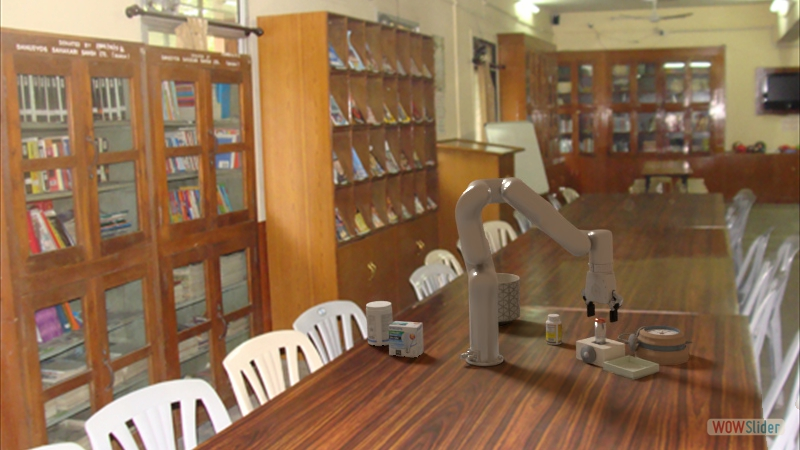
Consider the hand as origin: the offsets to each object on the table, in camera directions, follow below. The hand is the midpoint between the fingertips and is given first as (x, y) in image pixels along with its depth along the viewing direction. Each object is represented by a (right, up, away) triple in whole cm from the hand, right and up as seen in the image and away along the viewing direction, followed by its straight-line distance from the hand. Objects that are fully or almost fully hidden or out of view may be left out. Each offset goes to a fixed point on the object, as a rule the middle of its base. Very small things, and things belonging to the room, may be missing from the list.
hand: (602, 318), depth 256 cm
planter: (-28, -8, +52) cm, 60 cm away
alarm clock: (+18, -13, +5) cm, 23 cm away
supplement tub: (-73, -13, +30) cm, 80 cm away
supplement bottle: (-11, -12, +23) cm, 28 cm away
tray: (+7, -15, -10) cm, 19 cm away
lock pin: (0, -11, +2) cm, 11 cm away
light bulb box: (-64, -14, +16) cm, 68 cm away
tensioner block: (0, -14, +2) cm, 14 cm away
